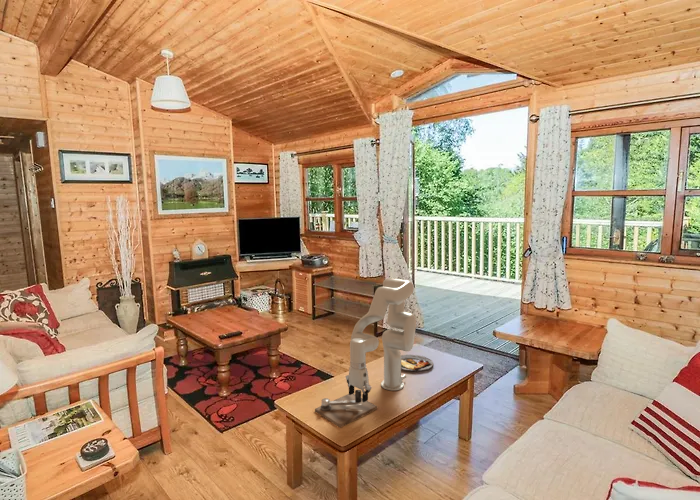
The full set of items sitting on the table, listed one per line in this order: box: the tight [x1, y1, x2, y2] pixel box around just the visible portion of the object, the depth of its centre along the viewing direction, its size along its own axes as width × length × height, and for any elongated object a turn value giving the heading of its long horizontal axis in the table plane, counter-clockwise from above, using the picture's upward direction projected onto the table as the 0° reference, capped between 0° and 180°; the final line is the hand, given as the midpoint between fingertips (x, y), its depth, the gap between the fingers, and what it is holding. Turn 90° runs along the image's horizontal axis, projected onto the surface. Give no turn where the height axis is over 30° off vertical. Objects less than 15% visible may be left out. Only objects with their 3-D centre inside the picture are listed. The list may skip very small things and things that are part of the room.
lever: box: [321, 389, 362, 408], centre depth 198 cm, size 20×4×7 cm, turn 92°
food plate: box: [401, 354, 434, 372], centre depth 252 cm, size 25×23×4 cm
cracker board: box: [314, 393, 378, 429], centre depth 199 cm, size 24×19×2 cm
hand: (358, 397), depth 198 cm, fingers open, 9 cm apart
